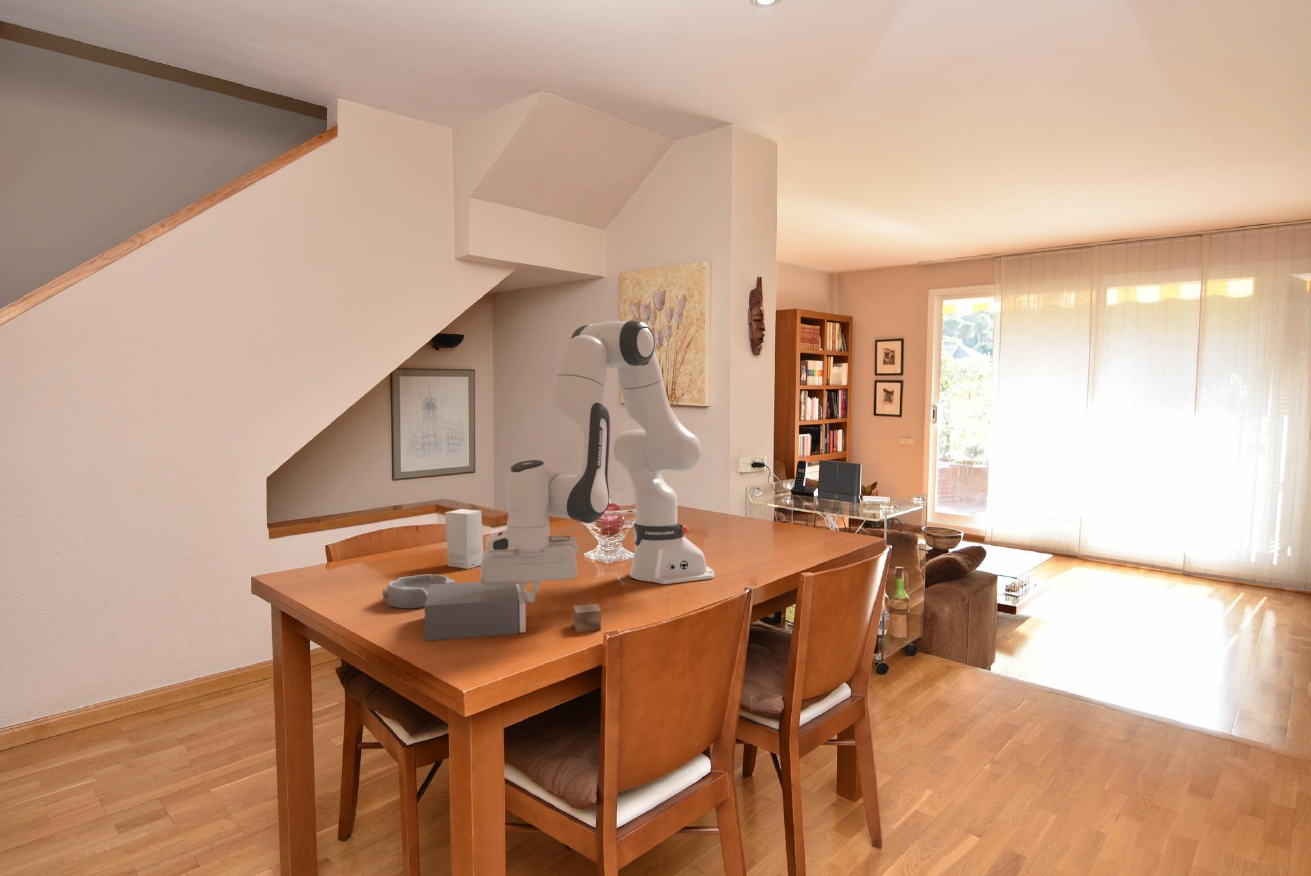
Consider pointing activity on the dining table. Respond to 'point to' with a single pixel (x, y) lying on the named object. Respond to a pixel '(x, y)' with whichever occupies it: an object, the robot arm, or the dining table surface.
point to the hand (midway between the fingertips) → (529, 601)
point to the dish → (412, 590)
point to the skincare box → (464, 538)
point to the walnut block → (586, 617)
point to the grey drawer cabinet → (470, 610)
